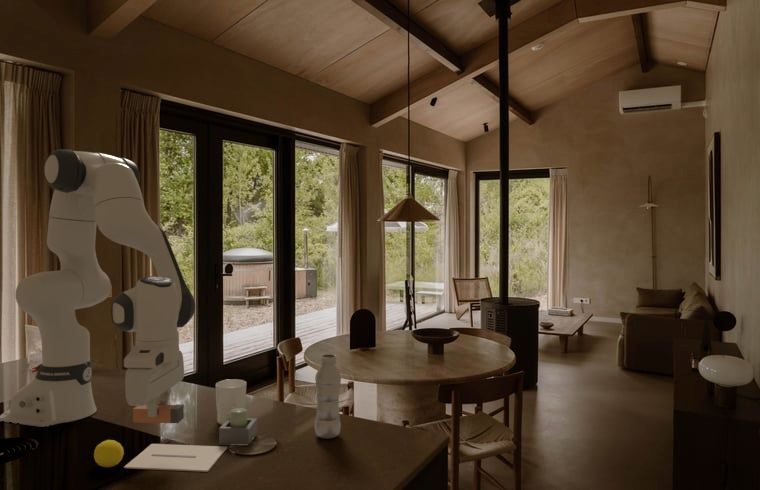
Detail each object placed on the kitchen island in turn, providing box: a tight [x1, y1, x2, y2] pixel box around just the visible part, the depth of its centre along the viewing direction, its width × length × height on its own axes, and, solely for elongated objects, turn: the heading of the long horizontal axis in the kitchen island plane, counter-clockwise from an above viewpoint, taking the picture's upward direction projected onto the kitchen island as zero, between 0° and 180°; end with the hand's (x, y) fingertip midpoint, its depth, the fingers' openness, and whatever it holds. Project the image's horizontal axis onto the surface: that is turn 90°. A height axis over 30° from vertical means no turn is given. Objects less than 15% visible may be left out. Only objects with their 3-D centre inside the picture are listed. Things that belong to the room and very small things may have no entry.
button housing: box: [218, 417, 258, 446], centre depth 127 cm, size 7×7×4 cm
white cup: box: [215, 378, 248, 426], centre depth 139 cm, size 8×8×10 cm
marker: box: [132, 403, 185, 424], centre depth 117 cm, size 10×3×3 cm, turn 87°
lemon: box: [93, 439, 125, 468], centre depth 112 cm, size 7×5×5 cm
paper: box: [123, 443, 228, 473], centre depth 117 cm, size 18×12×1 cm, turn 87°
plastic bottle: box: [313, 354, 342, 440], centre depth 130 cm, size 6×7×20 cm
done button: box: [230, 408, 248, 428], centre depth 127 cm, size 4×4×5 cm
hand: (158, 412), depth 117 cm, fingers closed on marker, 3 cm apart
